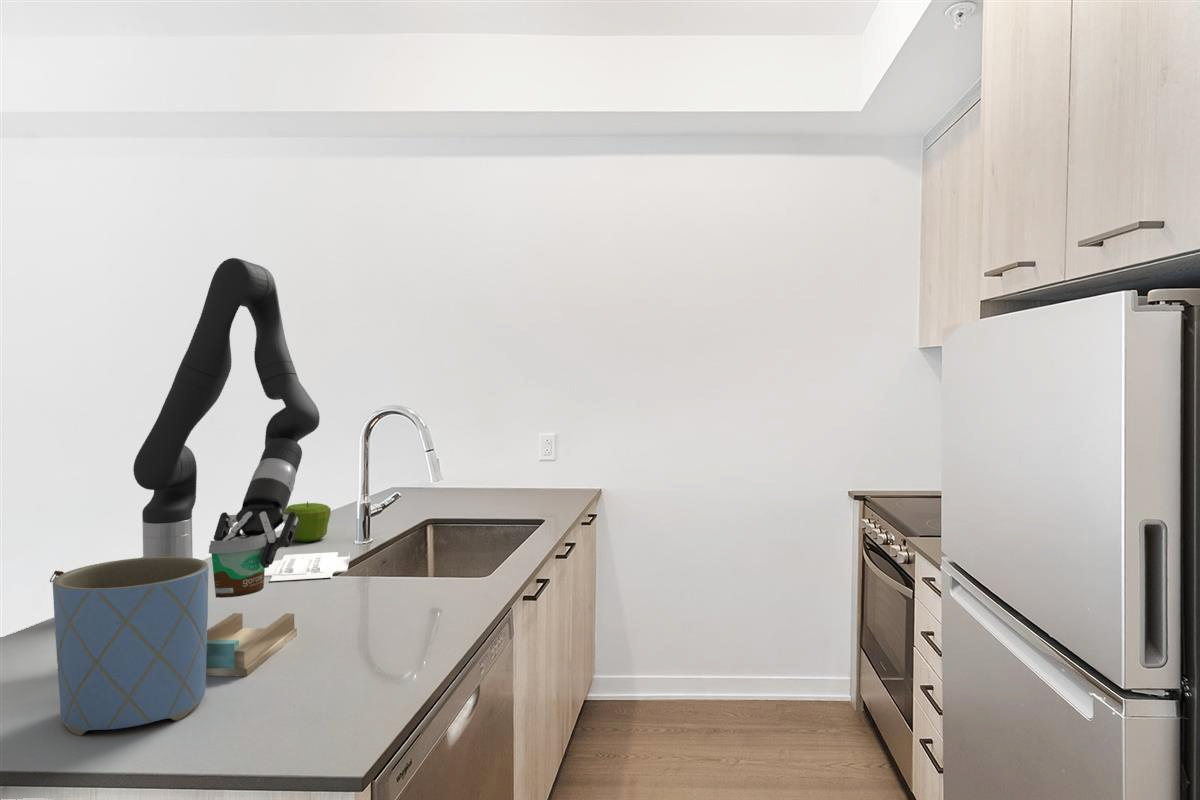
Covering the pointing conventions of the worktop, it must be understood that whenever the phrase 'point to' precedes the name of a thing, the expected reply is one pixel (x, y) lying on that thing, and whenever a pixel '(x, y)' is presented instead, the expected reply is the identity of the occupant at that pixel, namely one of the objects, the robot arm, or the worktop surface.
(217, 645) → the channel board
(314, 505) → the apple
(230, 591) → the food container
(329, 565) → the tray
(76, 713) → the planter
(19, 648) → the worktop surface
